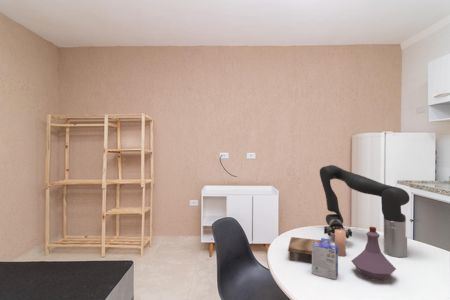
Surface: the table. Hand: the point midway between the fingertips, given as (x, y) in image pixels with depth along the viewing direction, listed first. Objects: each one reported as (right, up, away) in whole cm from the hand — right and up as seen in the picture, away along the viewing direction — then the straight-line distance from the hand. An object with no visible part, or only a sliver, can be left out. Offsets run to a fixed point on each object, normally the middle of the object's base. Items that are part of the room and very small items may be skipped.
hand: (338, 235), depth 135 cm
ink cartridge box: (-19, -7, -28) cm, 35 cm away
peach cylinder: (-3, -7, -9) cm, 11 cm away
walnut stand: (-21, -7, -11) cm, 24 cm away
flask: (+1, -7, -29) cm, 30 cm away
